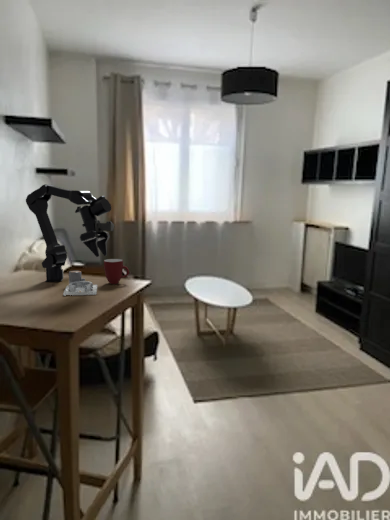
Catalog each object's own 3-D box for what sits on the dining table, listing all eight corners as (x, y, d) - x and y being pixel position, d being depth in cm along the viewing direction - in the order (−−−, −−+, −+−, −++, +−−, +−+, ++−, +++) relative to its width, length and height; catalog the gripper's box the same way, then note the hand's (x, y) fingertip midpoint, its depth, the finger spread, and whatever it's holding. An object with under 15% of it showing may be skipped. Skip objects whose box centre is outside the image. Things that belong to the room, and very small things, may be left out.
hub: (63, 295, 152) (63, 287, 152) (67, 288, 164) (66, 280, 163) (96, 294, 155) (95, 286, 154) (97, 287, 166) (97, 279, 166)
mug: (128, 280, 180) (128, 258, 178) (129, 284, 172) (129, 261, 170) (104, 281, 177) (103, 259, 176) (104, 285, 170) (103, 262, 168)
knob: (68, 287, 165) (68, 273, 164) (69, 284, 170) (69, 270, 169) (84, 287, 167) (84, 272, 166) (85, 284, 171) (85, 270, 170)
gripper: (99, 212, 155) (112, 250, 155) (115, 215, 173) (126, 249, 174) (73, 221, 156) (86, 259, 156) (91, 223, 175) (102, 257, 175)
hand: (101, 256), depth 165 cm, fingers open, 9 cm apart
